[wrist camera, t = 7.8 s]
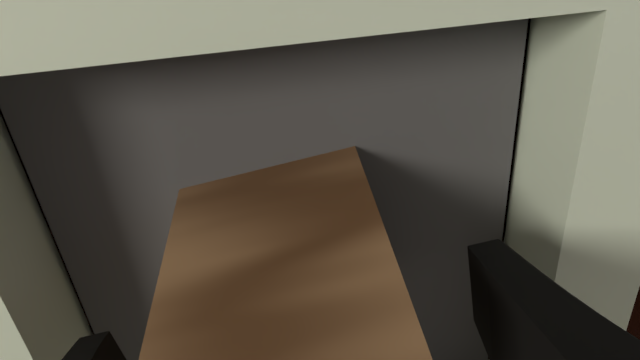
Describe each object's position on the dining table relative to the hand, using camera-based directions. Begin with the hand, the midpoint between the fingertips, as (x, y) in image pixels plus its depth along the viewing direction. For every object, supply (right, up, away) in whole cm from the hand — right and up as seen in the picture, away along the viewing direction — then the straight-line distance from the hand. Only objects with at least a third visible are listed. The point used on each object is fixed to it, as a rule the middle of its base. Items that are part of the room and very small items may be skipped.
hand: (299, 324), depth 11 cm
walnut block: (0, +1, +2) cm, 3 cm away
